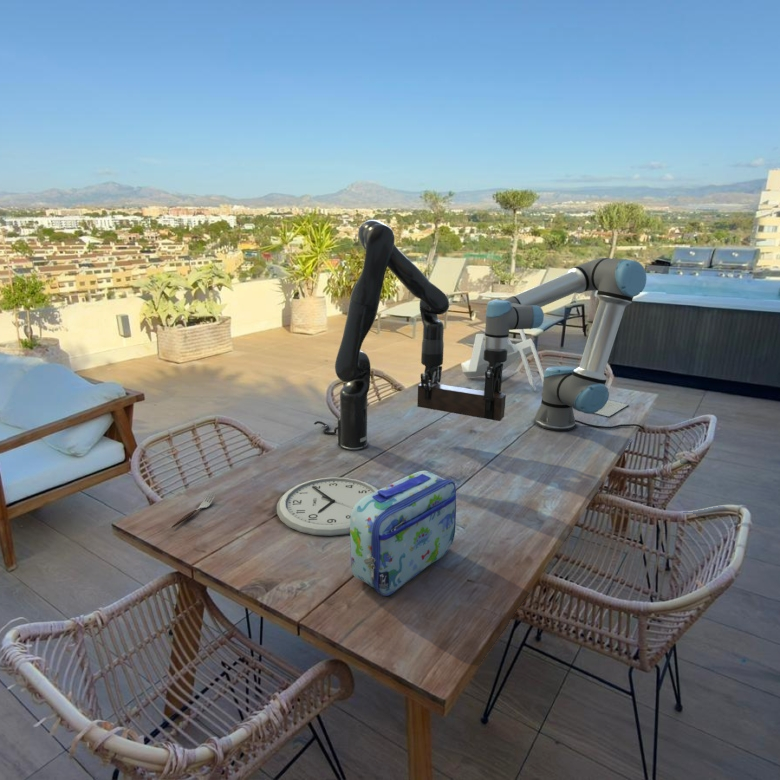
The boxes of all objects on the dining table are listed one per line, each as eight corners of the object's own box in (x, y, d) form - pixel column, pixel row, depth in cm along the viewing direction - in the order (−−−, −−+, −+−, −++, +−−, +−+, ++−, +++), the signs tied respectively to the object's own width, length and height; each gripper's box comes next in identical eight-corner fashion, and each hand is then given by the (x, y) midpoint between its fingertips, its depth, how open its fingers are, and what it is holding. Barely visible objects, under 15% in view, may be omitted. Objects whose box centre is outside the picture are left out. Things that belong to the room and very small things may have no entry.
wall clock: (392, 527, 129) (268, 531, 127) (391, 533, 130) (269, 537, 127) (383, 473, 158) (282, 475, 155) (383, 478, 158) (282, 480, 156)
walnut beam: (504, 416, 177) (505, 394, 175) (499, 421, 173) (501, 398, 171) (422, 402, 190) (423, 381, 188) (417, 406, 186) (417, 385, 183)
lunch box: (378, 608, 104) (379, 516, 98) (343, 583, 112) (342, 495, 105) (459, 554, 122) (465, 473, 116) (425, 535, 129) (428, 458, 123)
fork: (167, 528, 130) (166, 521, 130) (209, 498, 145) (208, 492, 144) (175, 530, 130) (174, 523, 129) (216, 500, 144) (216, 494, 143)
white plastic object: (482, 419, 265) (461, 396, 241) (463, 346, 287) (443, 319, 263) (553, 395, 253) (539, 368, 228) (528, 321, 275) (513, 290, 250)
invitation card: (608, 416, 214) (573, 407, 224) (608, 416, 214) (573, 408, 224) (628, 404, 229) (594, 396, 238) (628, 405, 229) (594, 397, 238)
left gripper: (430, 345, 188) (428, 390, 193) (413, 353, 176) (412, 401, 181) (450, 348, 185) (447, 393, 190) (434, 356, 172) (432, 405, 178)
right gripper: (492, 342, 179) (487, 406, 186) (476, 353, 164) (472, 422, 170) (513, 344, 176) (508, 409, 183) (499, 355, 160) (494, 426, 167)
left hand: (430, 397), depth 185 cm, fingers closed on walnut beam, 5 cm apart
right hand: (490, 415), depth 177 cm, fingers closed on walnut beam, 5 cm apart
